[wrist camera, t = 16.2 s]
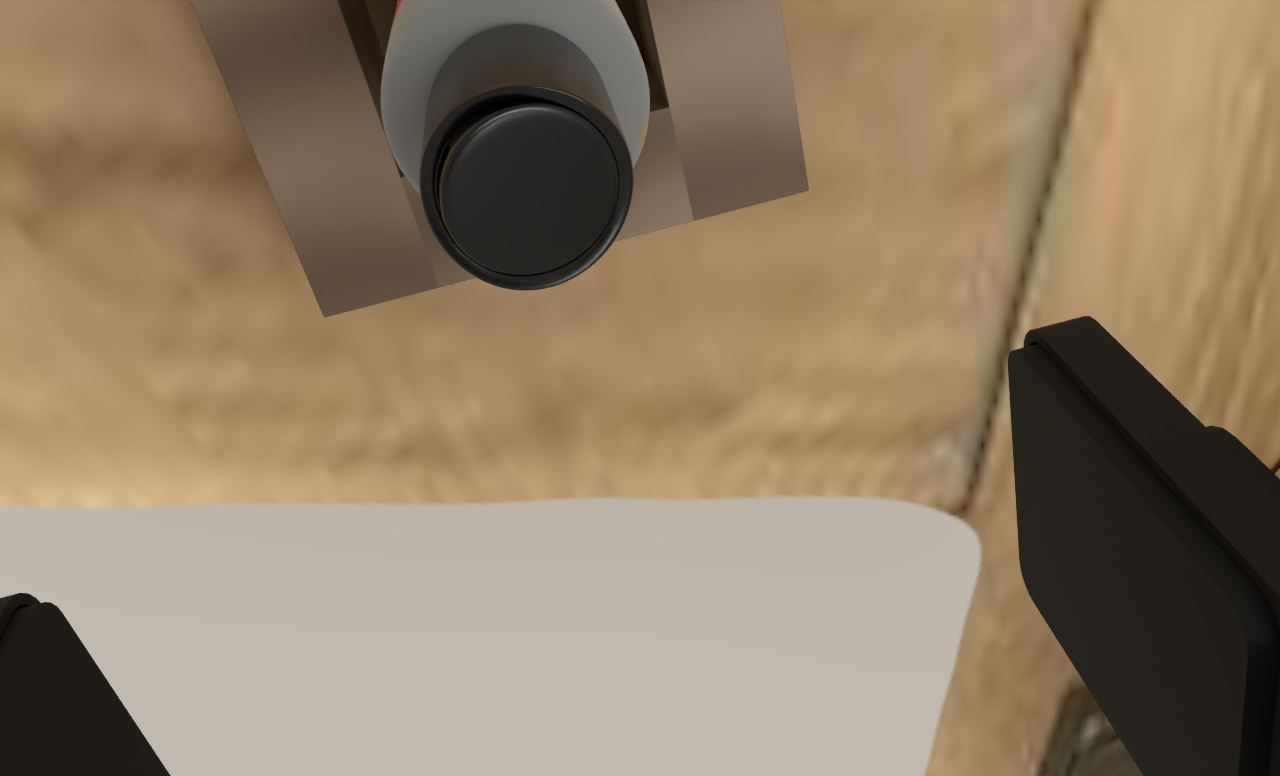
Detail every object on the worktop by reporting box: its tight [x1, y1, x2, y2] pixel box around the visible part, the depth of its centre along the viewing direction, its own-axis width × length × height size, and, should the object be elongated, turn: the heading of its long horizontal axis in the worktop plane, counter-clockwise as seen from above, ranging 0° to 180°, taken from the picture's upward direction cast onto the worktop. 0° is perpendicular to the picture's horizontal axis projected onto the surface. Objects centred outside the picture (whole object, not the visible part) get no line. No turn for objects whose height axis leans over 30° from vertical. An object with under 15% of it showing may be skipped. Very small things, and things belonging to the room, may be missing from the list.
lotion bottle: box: [381, 0, 650, 290], centre depth 28 cm, size 6×6×20 cm
